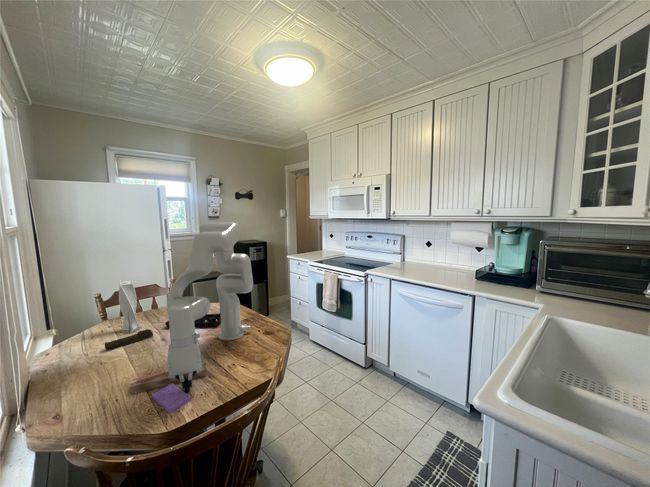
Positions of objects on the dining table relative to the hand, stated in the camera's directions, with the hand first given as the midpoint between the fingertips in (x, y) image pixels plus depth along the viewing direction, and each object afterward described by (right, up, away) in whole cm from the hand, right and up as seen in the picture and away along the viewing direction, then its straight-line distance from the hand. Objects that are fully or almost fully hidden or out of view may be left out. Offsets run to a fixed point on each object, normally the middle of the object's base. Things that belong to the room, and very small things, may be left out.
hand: (187, 389), depth 93 cm
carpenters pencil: (-15, +2, +4) cm, 16 cm away
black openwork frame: (-25, +5, +58) cm, 63 cm away
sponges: (-4, -2, -4) cm, 5 cm away
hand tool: (-46, +2, +36) cm, 59 cm away
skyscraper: (-57, +4, +51) cm, 77 cm away
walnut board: (-9, 0, +6) cm, 11 cm away
